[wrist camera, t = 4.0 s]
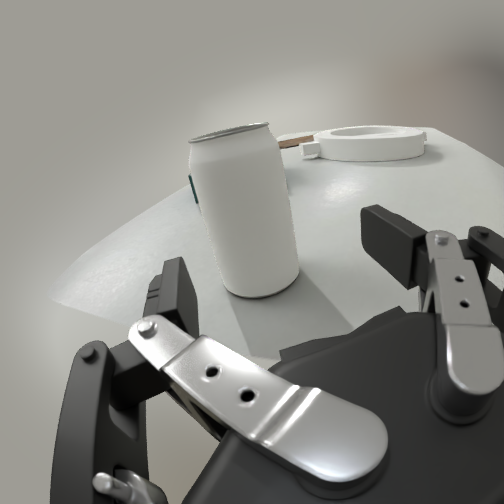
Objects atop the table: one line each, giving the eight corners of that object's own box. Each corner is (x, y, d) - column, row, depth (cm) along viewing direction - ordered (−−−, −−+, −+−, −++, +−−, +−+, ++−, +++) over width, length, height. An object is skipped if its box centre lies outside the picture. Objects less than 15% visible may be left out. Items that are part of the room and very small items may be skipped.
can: (296, 300, 20) (265, 126, 14) (213, 301, 22) (164, 148, 16) (303, 254, 25) (280, 118, 20) (236, 258, 27) (203, 134, 22)
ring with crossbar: (295, 160, 62) (292, 141, 60) (340, 140, 79) (338, 126, 77) (417, 165, 44) (416, 141, 42) (428, 144, 61) (427, 127, 59)
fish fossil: (305, 136, 102) (304, 133, 101) (328, 137, 96) (328, 134, 95) (267, 148, 86) (266, 144, 85) (294, 148, 80) (294, 145, 79)
